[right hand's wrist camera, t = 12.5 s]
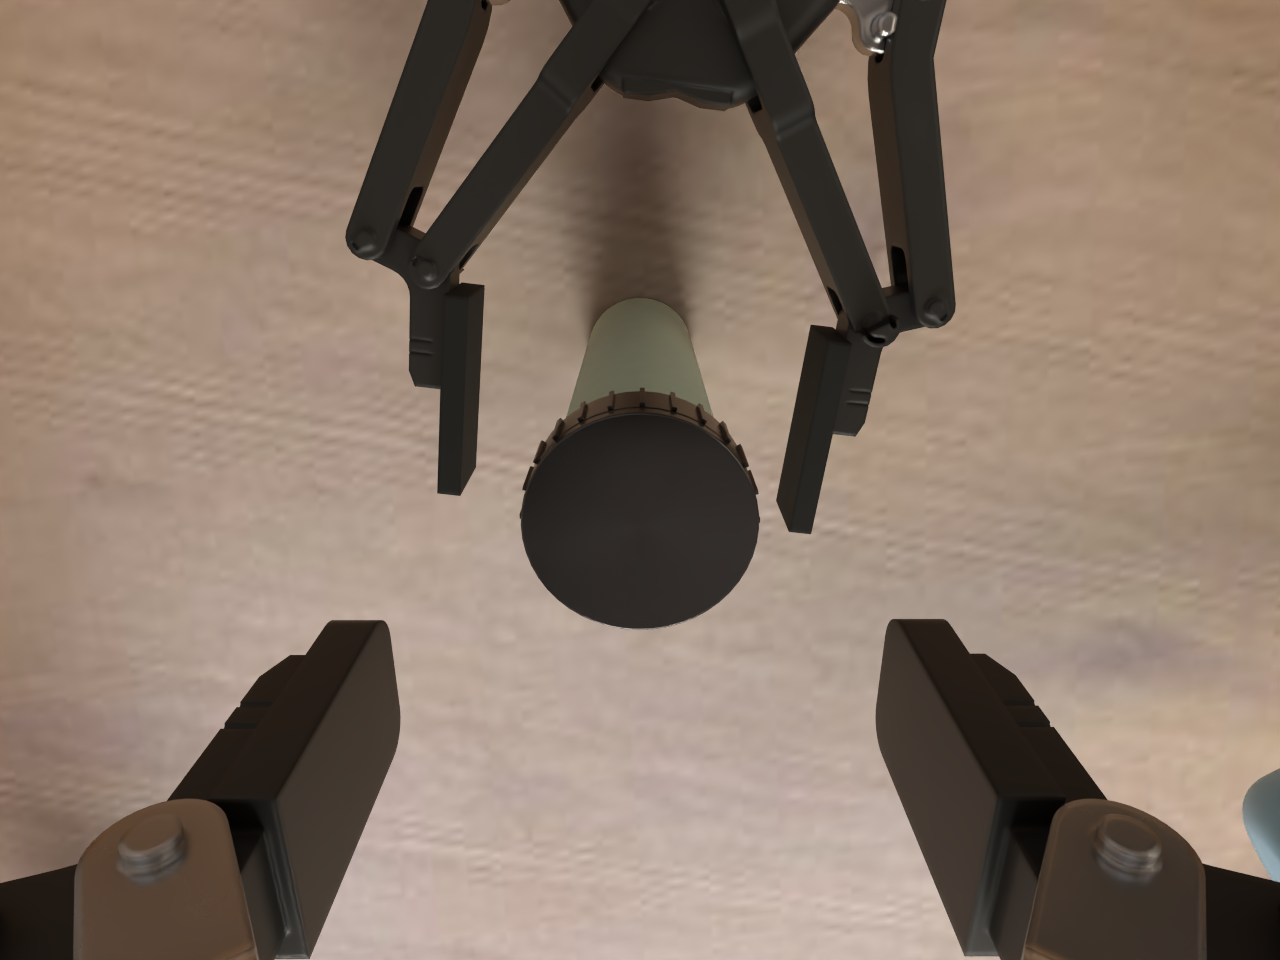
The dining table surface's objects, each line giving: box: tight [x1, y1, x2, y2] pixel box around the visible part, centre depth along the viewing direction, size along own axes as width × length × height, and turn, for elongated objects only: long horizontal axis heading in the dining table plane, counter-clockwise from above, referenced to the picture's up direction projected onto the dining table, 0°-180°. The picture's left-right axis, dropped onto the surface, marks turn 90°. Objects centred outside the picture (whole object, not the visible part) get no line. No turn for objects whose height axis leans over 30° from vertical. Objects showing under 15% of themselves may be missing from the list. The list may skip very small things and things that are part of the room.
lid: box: [520, 388, 760, 630], centre depth 17 cm, size 5×5×2 cm
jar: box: [566, 298, 713, 418], centre depth 25 cm, size 4×4×17 cm
